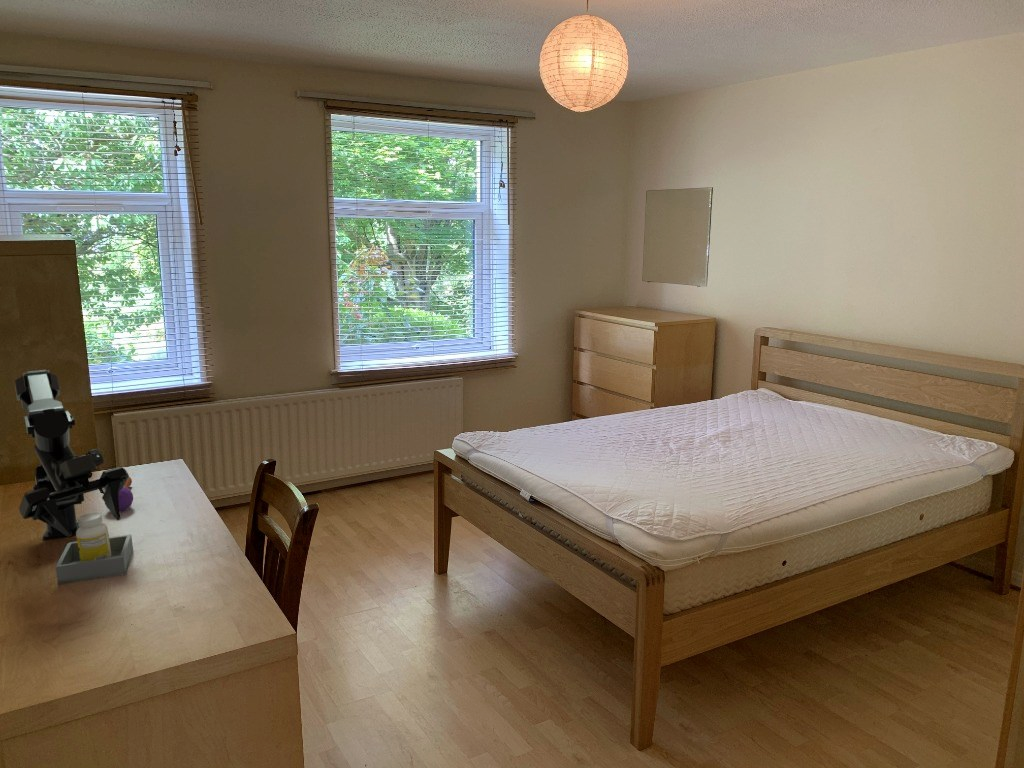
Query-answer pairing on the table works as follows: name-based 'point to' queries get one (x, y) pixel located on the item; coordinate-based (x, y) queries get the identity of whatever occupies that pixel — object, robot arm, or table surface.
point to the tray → (94, 562)
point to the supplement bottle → (93, 538)
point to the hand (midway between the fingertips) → (95, 527)
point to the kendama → (125, 496)
